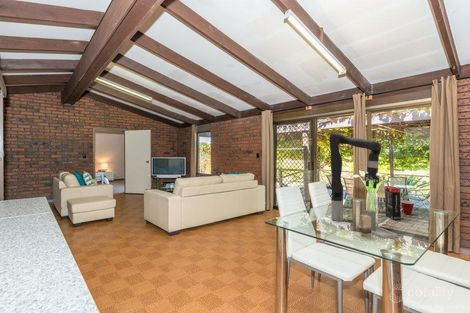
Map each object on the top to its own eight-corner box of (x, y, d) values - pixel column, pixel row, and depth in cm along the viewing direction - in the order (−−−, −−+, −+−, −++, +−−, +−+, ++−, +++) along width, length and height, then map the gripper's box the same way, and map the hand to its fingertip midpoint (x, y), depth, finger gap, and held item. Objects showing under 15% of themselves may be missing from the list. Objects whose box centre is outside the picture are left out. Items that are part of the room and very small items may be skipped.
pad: (381, 241, 165) (381, 239, 165) (365, 242, 164) (365, 240, 164) (365, 233, 181) (365, 232, 181) (351, 234, 179) (351, 232, 179)
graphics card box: (401, 220, 212) (401, 188, 212) (392, 220, 213) (391, 188, 213) (392, 215, 229) (392, 185, 228) (384, 215, 230) (384, 185, 230)
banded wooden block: (371, 237, 170) (371, 216, 170) (364, 237, 169) (364, 216, 169) (366, 234, 175) (366, 214, 175) (359, 235, 174) (359, 215, 174)
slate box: (375, 230, 185) (375, 211, 184) (369, 230, 184) (369, 211, 184) (371, 228, 190) (371, 209, 189) (365, 228, 189) (364, 210, 189)
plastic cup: (410, 216, 224) (410, 203, 224) (398, 214, 234) (398, 201, 234) (417, 214, 230) (417, 201, 230) (404, 212, 239) (404, 199, 239)
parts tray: (397, 238, 168) (397, 234, 168) (381, 240, 167) (381, 235, 167) (372, 227, 194) (372, 223, 194) (358, 228, 192) (358, 224, 192)
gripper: (362, 165, 202) (360, 185, 203) (374, 167, 188) (372, 188, 189) (371, 166, 203) (369, 186, 204) (383, 168, 189) (381, 189, 190)
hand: (370, 187), depth 196 cm, fingers open, 8 cm apart
